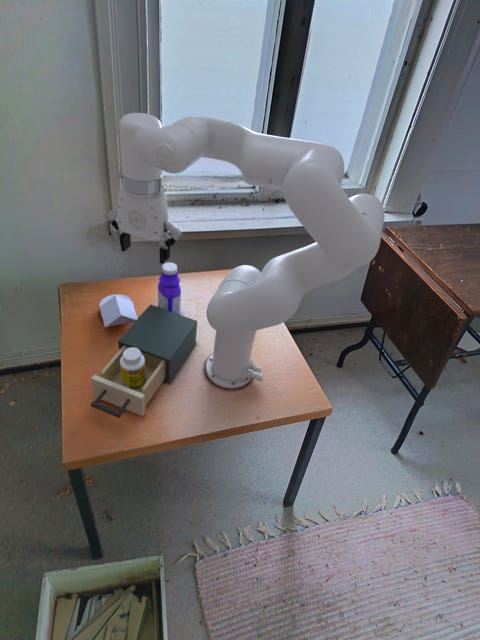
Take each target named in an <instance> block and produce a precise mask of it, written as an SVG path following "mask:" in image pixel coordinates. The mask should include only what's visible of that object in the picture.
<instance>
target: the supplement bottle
mask: <svg viewBox="0 0 480 640" xmlns="http://www.w3.org/2000/svg"><path fill="white" fill-rule="evenodd" d="M120 369H121V380H122V385H123V386H124V387H127V388H129V389H132V390H137V389H140V388H141V387H142V386H143V385H144V384H145V359H144V357H143V355H142V354H141V352H140V350H139V349H137V348H133V347H132V348H128V349H126V350H125V351H124V352H123V356H122V357H121V359H120Z"/></svg>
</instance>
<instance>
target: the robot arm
mask: <svg viewBox="0 0 480 640" xmlns="http://www.w3.org/2000/svg"><path fill="white" fill-rule="evenodd" d="M119 135H120V136H119V139H120V152H121V153H120V154H121V164H122V165H121V168H122V169H121V170H118V172H117V177H118V178H120V179H122V184H121V185H120V186H119V190H118V196H117V207H116V208H114V209H110V210H108V211H107V212H106V215H107V217H108V219H109V221H110V223H111V226H112V227H113V228H114V229H115V230H116V235H118V236H119V245H120V251H121V252H123V253H125V252H126V251H127V250H128V249H129V248H131V246H132V239H131V236H133V237H138V238H141V239H143V240H147V241H151V242H158V244H159V245H160V248H159V263H160V264H161V265H163V264H165V263H166V262H167V261H168V260H169V259H170V258H171V247H172V246H173V245H175V244H176V243H177V242H178V241H179V239H180V237H181V236H182V234H183V232H182V230H180V229H179V228H178V227H177V226H175V224H173V223H172V222H171V221H169V207H168V200H167V196H166V191H165V190H164V189H163V172H164V173H169V174H173V175H174V174H180V173H183V172H184V171H186V170H187V169H188V168H190V167H191V166H192V165H193V164H195V163H196V162H197V161H198V160H199V159H201V158H206V159H212V160H219V161H222V162H227V163H229V164H231V165H233V166H235V167H236V168H237V169H238V170H239V171H240V173H241V176H242V180H243V181H244V182H245V183H246V184H247V185H249V186H254V187H260V188H264V189H270V190H276V191H281V192H282V194H283V197H284V200H285V203H286V204H287V206H288V208H289V209H290V211H291V212H292V214H293V215H294V217H295V218H296V219H297V220H298V222H299V223H300V224H301V225H302V227H303V228H304V229H305V230H306V232H307V233H308V234H309V236H310V237H311V238H312V239H313V241H315V242H313V243H311V244H308V245H306V246H303V247H300V248H297V249H295V250H292V251H289V252H286V253H283V254H280V255H278V256H275V257H273V258H271V259H270V260H269V261H268V262H266V264H265V265H264V267H263V269H262V270H261V271H260V270H259V269H258V268H257V267H255V266H253V265H249V264H242V265H239V266H236V267H234V268H233V269H231V270H230V271H229V272H228V273H227V274H226V275H225V277H224V278H223V280H222V281H221V283H220V285H219V286H218V288H217V289H216V291H215V292H214V294H213V296H212V297H211V299H210V301H208V304H207V307H206V320H207V322H208V324H209V326H210V327H211V328H212V329H213V330H214V331H215V337H214V338H215V339H214V345H213V353H212V354H210V356H209V357H208V358H207V359H206V362H205V372H206V375H207V377H208V379H209V380H210V381H211V382H212V383H214V384H215V385H217V386H219V387H221V388H225V389H238V388H241V387H244V386H245V385H247V384H248V383H249V382H250V381H251V379H253V380H256V381H258V382H260V383H262V382H263V380H264V377H265V374H262V373H261V372H262V371H263V367H262V366H259V365H256V364H255V363H253V361H254V357H252V352H253V348H254V342H255V338H256V333H257V331H260V330H264V329H267V328H271V327H275V326H279V325H281V324H284V323H285V322H287V321H288V320H290V319H291V318H292V317H293V316H294V315H295V314H296V312H297V311H298V309H299V307H300V305H301V302H302V299H303V297H304V296H305V294H307V293H309V292H311V291H313V290H316V289H319V288H321V287H324V286H327V285H330V284H333V283H335V282H337V281H340V280H342V279H344V278H346V277H347V276H349V275H350V274H352V273H353V272H354V271H356V270H357V269H358V268H362V267H364V266H366V265H368V264H369V263H371V261H372V260H374V259H375V257H376V255H377V254H378V251H379V249H380V247H381V246H380V245H381V240H382V233H383V228H384V223H385V208H384V205H383V204H382V202H381V200H380V199H379V198H378V197H377V196H375V195H373V194H370V193H358V194H356V195H353V196H351V197H349V196H348V195H347V193H346V191H345V190H344V188H343V186H342V182H343V179H344V175H345V161H344V157H343V155H342V154H341V152H340V151H339V150H338V149H337V148H335V147H334V146H332V145H330V144H326V143H322V142H316V141H309V140H303V139H296V138H292V137H291V138H290V137H283V136H278V135H271V134H265V133H259V132H255V131H253V130H252V129H249V128H247V127H244V126H243V125H241V124H238V123H236V122H232V121H229V120H226V119H219V118H215V117H214V118H213V117H207V116H199V115H193V116H192V115H191V116H186V117H183V118H181V119H179V120H177V121H175V122H174V123H172V124H170V125H165V126H162V123H161V121H160V120H159V118H157V117H156V116H154V115H152V114H150V113H144V112H129V113H126V114H125V115H123V116H122V117H121V118H120V120H119ZM168 232H169V233H170V234H171V235H172V236H170V235H169V234H168Z"/></svg>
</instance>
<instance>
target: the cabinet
mask: <svg viewBox="0 0 480 640" xmlns="http://www.w3.org/2000/svg"><path fill="white" fill-rule="evenodd" d="M197 329H198V320H195V319H193V318H190V317H187V316H185V315H182V314H180V315H179V314H176V313H173V312H171V311H168V310H165V309H162V308H159V307H158V306H156V305H153V304H149V305H148V306H147V308H145V310H144V311H143V312H142V313H141V314H140V315H139V316H138V319H137V320H136V321H135V322H132V324H131V325H130V327H128V329H127V330H126V331H125V332H124V333H123V334H122V336H121V337H120V338H119V339H118V341H117V343H118V351H119V350H120V349H121V348H122V347H123V345H125V346H127V347H130V348H132V347H133V348H137V349H139V350H140V351H141V352H143V353H146V354H149V355H151V356H154V357H157V358H159V359H162V360H165V361H167V376H166V377H165V379H164V380H163V382H165V383H168V384H170V383H171V382H172V381H173V379H174V378H175V375H176V374H177V372H178V371H179V370H180V368H181V367H182V365H183V363H184V362H185V360H186V359H187V357H189V355H190V353H191V352H192V350H193V348H194V347H195V345H196V343H197V332H198V331H197Z"/></svg>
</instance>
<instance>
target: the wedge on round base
mask: <svg viewBox="0 0 480 640" xmlns="http://www.w3.org/2000/svg"><path fill="white" fill-rule="evenodd" d="M99 311H100V317H101V319H102V321H103V325H104V328H109V327H114V326H120V325H125V324H130V323H131V324H133V323H134V322H135V321H136V320H137V319H138V318H139V316H138V315H137V312H136V309H135V306H134V303H133V301H132V299H131V298H130V296H129V297H128V296H127V295H124V294H119V293H118V294H111V295H107V296H105V297H103V298H102V299H101V300H100V302H99Z"/></svg>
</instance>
